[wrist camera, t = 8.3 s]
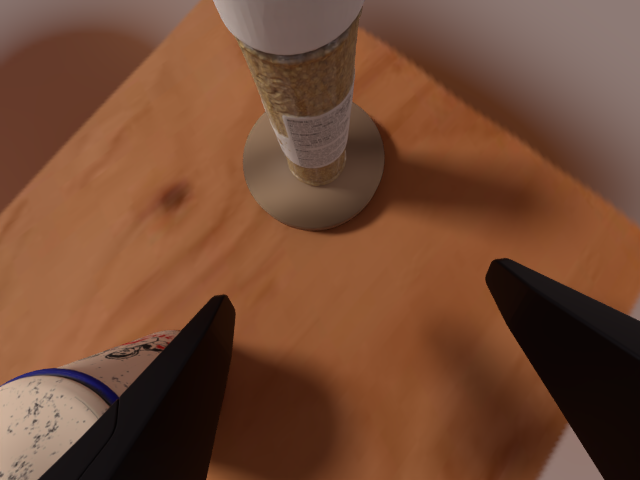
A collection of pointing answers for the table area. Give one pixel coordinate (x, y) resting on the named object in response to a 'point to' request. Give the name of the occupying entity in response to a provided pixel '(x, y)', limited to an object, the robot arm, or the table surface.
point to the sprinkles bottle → (301, 75)
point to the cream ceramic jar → (65, 404)
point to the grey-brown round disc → (307, 200)
